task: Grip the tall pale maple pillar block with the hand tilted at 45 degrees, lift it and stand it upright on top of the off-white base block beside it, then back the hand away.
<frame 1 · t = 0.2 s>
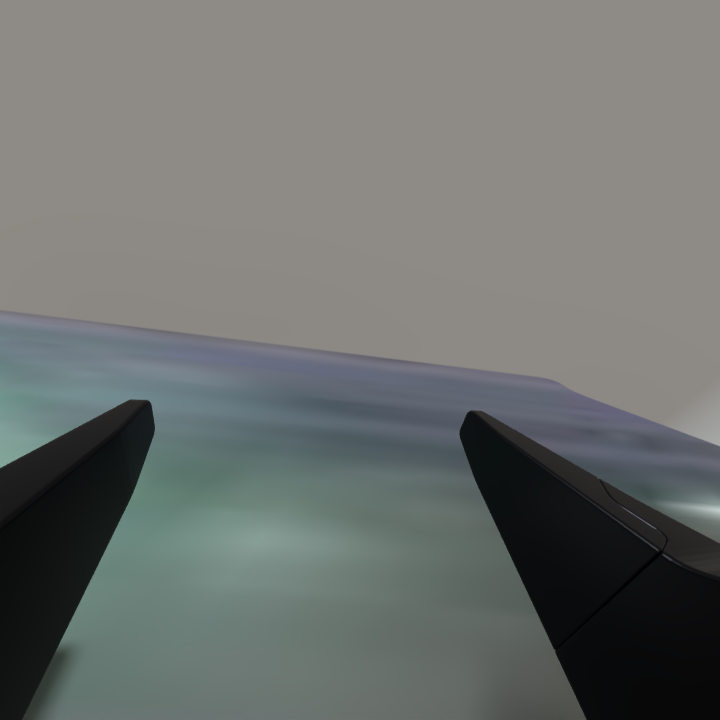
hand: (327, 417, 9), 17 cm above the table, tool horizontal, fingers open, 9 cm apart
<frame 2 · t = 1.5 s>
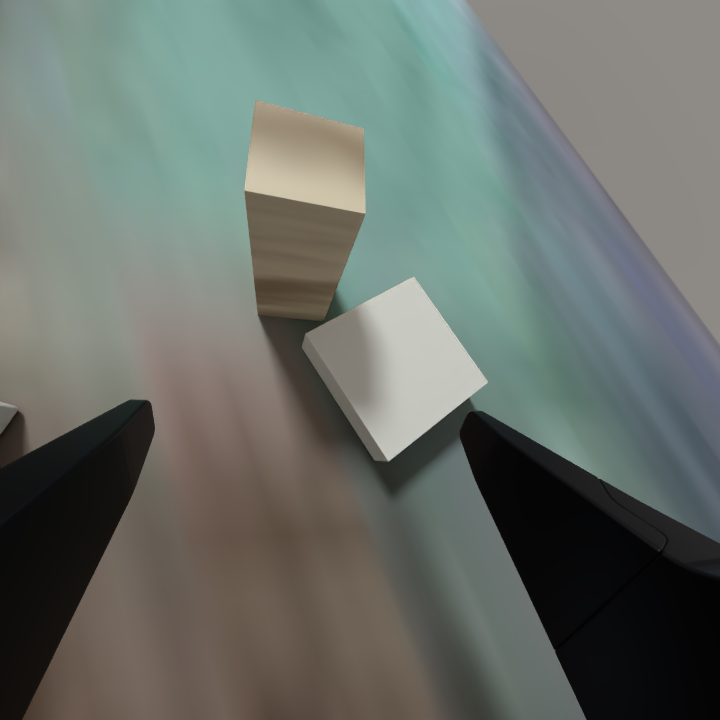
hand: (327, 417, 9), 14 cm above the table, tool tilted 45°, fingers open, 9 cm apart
maple pillar block: (293, 289, 25), on the table
off-white base block: (388, 369, 25), on the table
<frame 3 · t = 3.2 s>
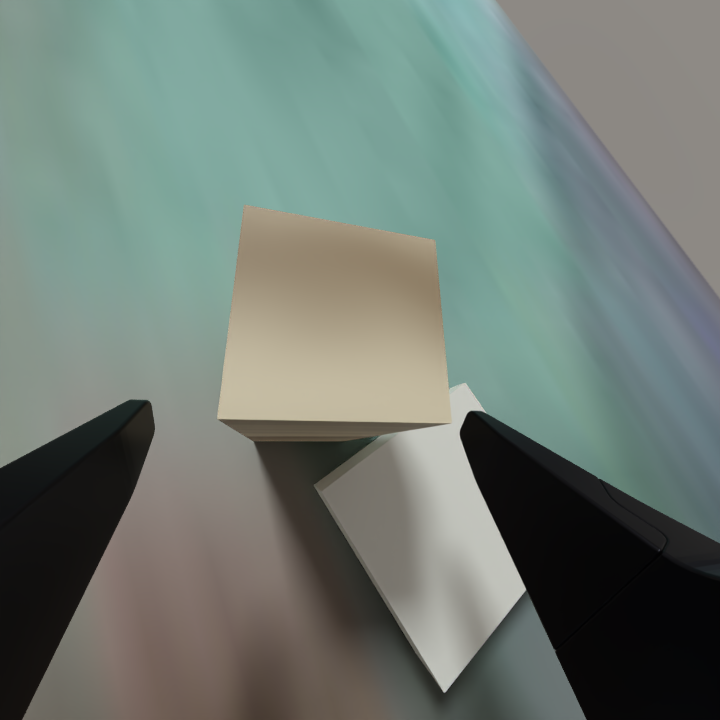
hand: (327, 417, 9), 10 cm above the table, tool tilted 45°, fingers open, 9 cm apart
maple pillar block: (301, 397, 18), on the table
off-white base block: (428, 505, 18), on the table
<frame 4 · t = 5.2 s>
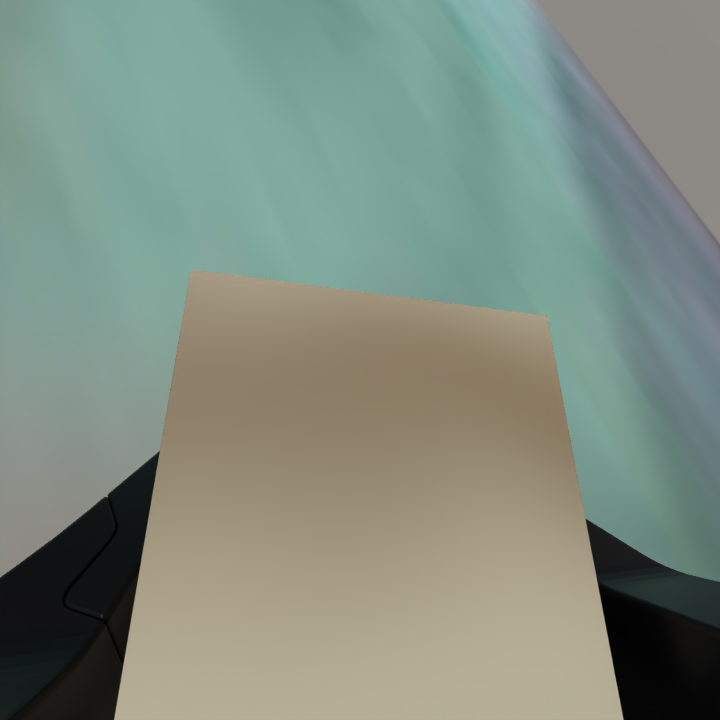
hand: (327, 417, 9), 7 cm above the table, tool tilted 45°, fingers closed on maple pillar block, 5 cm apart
maple pillar block: (303, 461, 15), on the table, touching gripper
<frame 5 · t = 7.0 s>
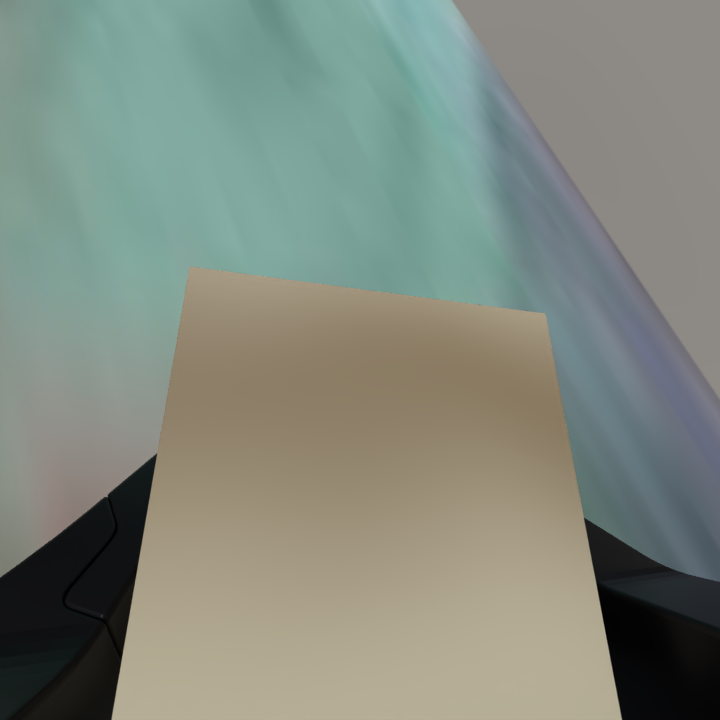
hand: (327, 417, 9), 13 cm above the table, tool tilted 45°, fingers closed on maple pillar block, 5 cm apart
maple pillar block: (303, 460, 15), point 7 cm above the table, touching gripper
when the fingers open (11 cm above the table, at t = 9.1 s): maple pillar block drops 1 cm, resting on off-white base block.
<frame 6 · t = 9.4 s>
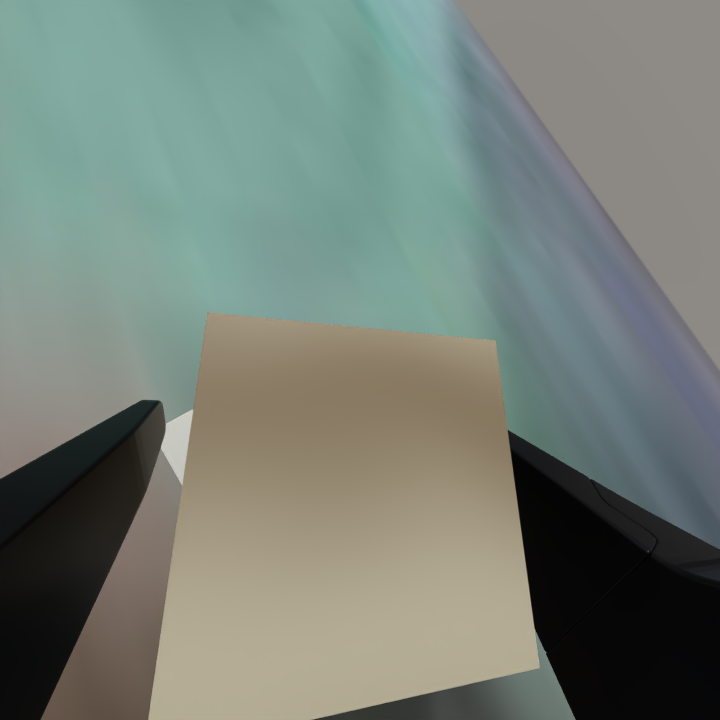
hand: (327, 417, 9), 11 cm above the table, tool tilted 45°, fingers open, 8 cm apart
maple pillar block: (301, 460, 16), point 3 cm above the table, touching off-white base block
off-white base block: (297, 458, 18), on the table
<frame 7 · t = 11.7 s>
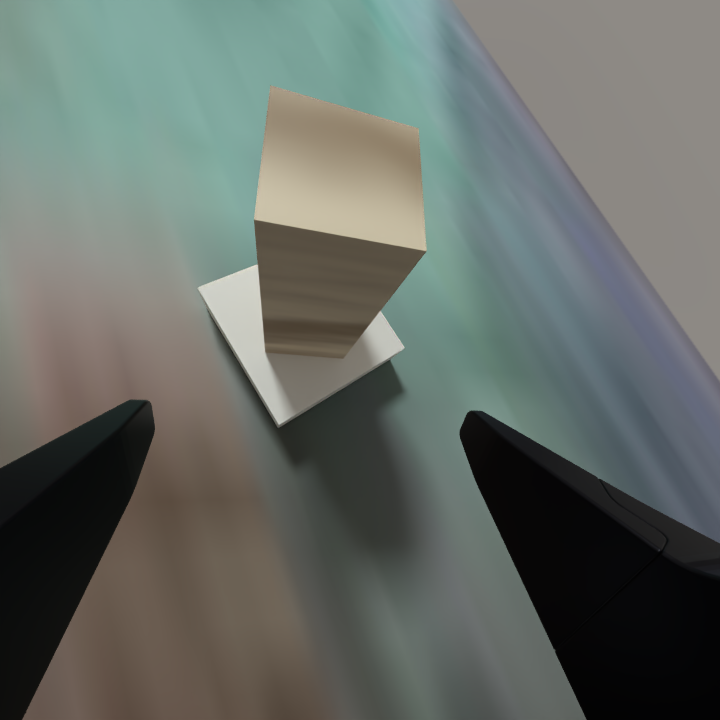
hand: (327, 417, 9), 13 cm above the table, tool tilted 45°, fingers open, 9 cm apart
maple pillar block: (307, 320, 21), point 3 cm above the table, touching off-white base block
off-white base block: (303, 335, 23), on the table
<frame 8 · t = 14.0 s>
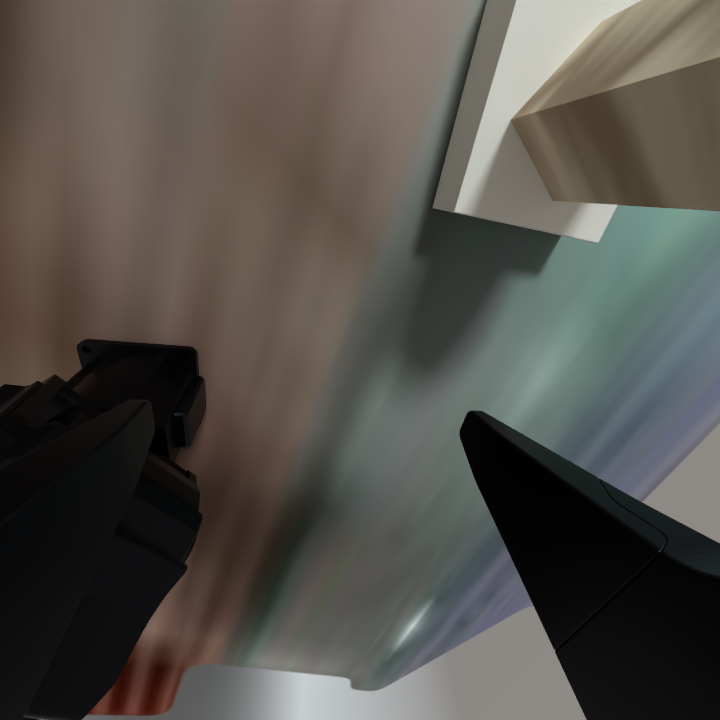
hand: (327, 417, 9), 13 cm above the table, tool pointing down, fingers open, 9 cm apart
maple pillar block: (574, 121, 15), point 3 cm above the table, touching off-white base block
off-white base block: (534, 130, 18), on the table
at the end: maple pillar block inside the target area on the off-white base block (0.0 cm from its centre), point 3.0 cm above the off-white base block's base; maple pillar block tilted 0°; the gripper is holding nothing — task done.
